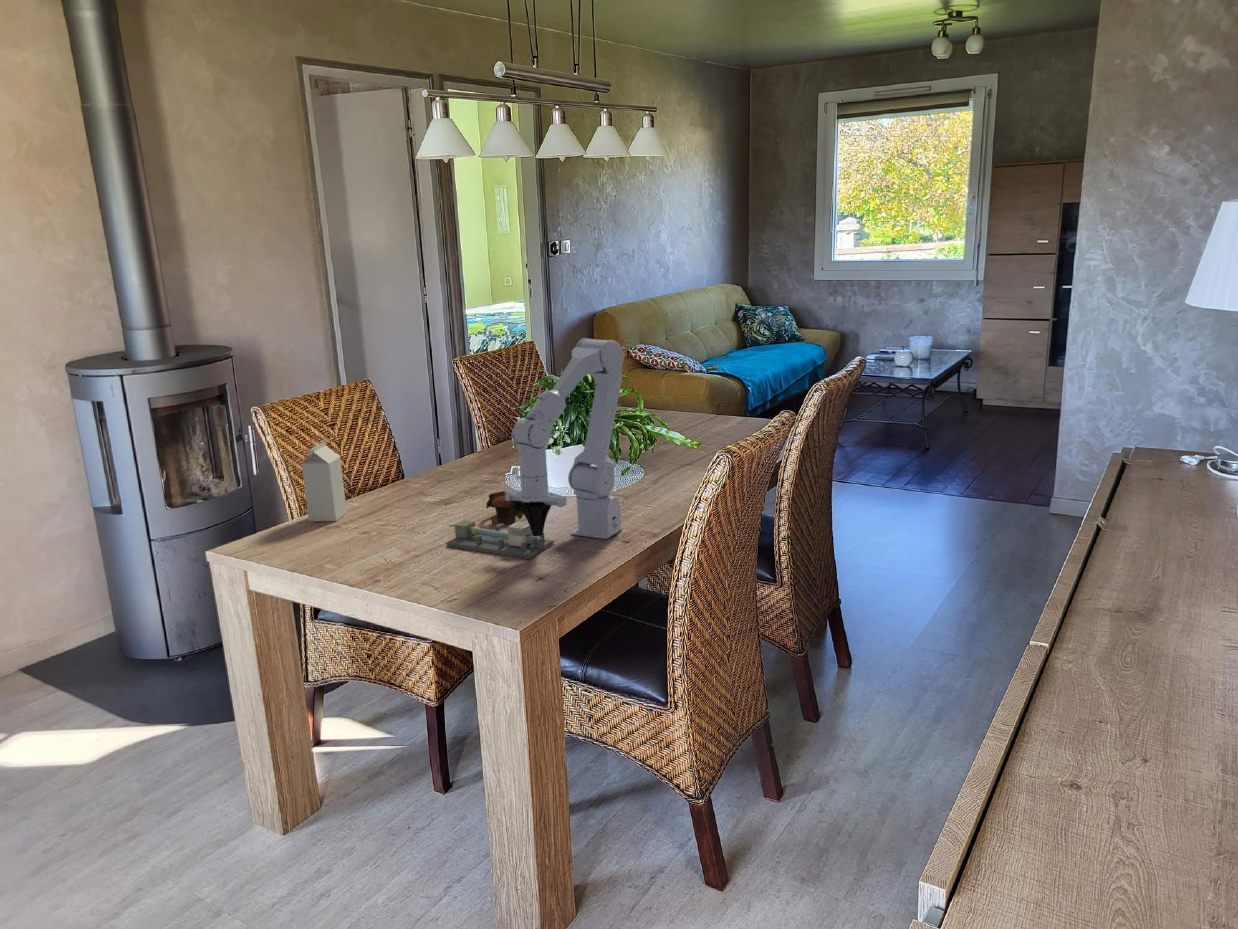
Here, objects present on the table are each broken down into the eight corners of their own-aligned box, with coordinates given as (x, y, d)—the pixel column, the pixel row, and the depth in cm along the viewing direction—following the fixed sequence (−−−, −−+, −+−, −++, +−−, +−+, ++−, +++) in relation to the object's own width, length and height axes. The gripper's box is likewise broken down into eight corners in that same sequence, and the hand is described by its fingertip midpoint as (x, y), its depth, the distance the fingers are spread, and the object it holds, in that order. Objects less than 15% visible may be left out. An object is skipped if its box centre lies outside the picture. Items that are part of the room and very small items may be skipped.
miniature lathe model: (553, 544, 203) (552, 527, 202) (528, 559, 195) (526, 541, 194) (474, 532, 214) (472, 516, 213) (447, 546, 205) (445, 528, 204)
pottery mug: (479, 527, 220) (477, 494, 222) (500, 533, 228) (498, 501, 230) (522, 518, 215) (520, 484, 217) (542, 524, 223) (540, 491, 226)
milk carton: (347, 513, 234) (338, 440, 229) (336, 521, 227) (326, 447, 222) (320, 513, 235) (311, 441, 230) (308, 522, 228) (298, 448, 223)
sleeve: (534, 540, 202) (533, 523, 201) (523, 547, 198) (522, 528, 197) (519, 538, 204) (518, 521, 203) (508, 544, 200) (507, 526, 199)
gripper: (495, 476, 195) (499, 536, 198) (552, 482, 188) (556, 544, 192) (514, 468, 201) (518, 526, 204) (570, 473, 194) (573, 534, 198)
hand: (537, 534), depth 198 cm, fingers closed
